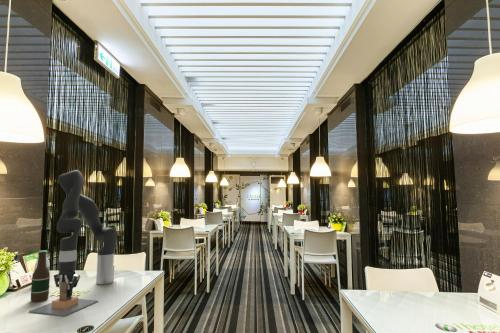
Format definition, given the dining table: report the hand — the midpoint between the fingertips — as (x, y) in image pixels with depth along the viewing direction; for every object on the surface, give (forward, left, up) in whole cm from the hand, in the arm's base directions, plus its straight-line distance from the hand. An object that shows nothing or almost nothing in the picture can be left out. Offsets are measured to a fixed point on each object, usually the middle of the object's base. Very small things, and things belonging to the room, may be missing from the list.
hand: (65, 296), depth 148 cm
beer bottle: (-5, -21, -5) cm, 22 cm away
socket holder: (0, 0, -5) cm, 5 cm away
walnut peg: (0, 0, -3) cm, 3 cm away
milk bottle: (-27, -45, -5) cm, 53 cm away
